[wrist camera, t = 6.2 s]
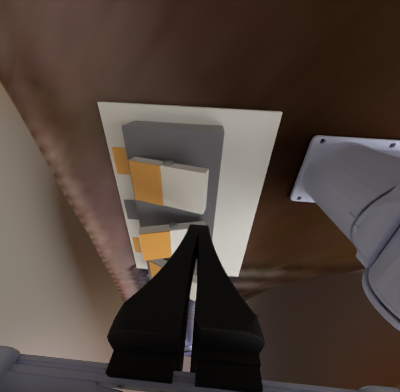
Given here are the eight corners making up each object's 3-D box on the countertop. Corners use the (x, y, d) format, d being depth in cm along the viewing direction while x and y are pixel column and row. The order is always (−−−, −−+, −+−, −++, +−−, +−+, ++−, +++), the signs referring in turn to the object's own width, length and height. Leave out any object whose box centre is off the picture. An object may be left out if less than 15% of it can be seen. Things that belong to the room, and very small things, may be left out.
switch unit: (279, 111, 17) (295, 116, 14) (237, 271, 31) (240, 293, 27) (102, 101, 18) (76, 103, 14) (138, 263, 31) (129, 284, 28)
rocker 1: (209, 166, 14) (205, 171, 13) (205, 209, 16) (202, 217, 15) (135, 154, 16) (127, 158, 15) (142, 195, 18) (135, 200, 17)
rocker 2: (204, 218, 19) (207, 226, 18) (202, 246, 21) (204, 254, 20) (139, 225, 18) (138, 233, 17) (144, 253, 20) (143, 262, 19)
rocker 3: (199, 275, 21) (195, 283, 20) (198, 294, 23) (194, 303, 22) (154, 253, 23) (147, 259, 22) (156, 272, 26) (151, 279, 25)
